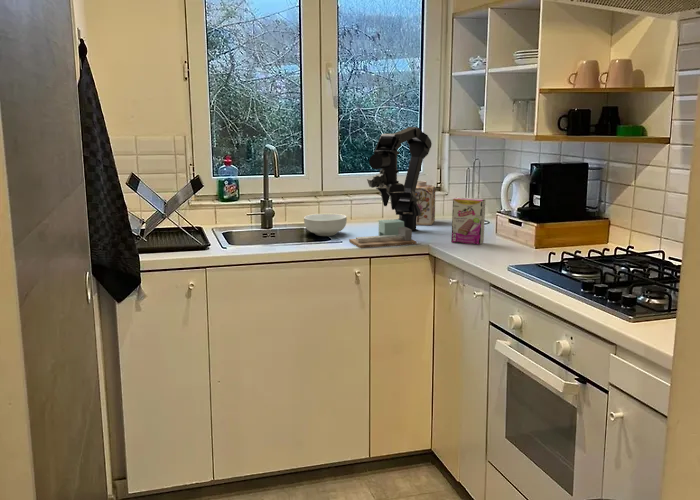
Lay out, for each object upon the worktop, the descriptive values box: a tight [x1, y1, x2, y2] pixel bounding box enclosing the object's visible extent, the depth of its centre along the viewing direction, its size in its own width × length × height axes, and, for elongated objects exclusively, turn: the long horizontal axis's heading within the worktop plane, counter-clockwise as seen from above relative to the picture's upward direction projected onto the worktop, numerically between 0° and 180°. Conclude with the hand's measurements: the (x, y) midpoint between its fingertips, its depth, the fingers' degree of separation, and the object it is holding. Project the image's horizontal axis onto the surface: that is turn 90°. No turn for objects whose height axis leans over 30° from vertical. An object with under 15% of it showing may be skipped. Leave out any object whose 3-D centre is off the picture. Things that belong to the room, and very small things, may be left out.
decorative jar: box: [415, 180, 437, 226], centre depth 306 cm, size 12×12×18 cm
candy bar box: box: [451, 196, 486, 246], centre depth 263 cm, size 11×5×16 cm, turn 65°
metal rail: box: [355, 235, 403, 243], centre depth 263 cm, size 20×3×2 cm, turn 108°
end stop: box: [398, 227, 413, 241], centre depth 266 cm, size 2×7×4 cm, turn 18°
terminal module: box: [378, 218, 404, 236], centre depth 277 cm, size 8×6×6 cm
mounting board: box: [348, 238, 418, 249], centre depth 263 cm, size 22×12×1 cm, turn 108°
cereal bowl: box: [303, 213, 347, 237], centre depth 281 cm, size 17×17×7 cm
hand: (389, 207), depth 275 cm, fingers open, 9 cm apart
